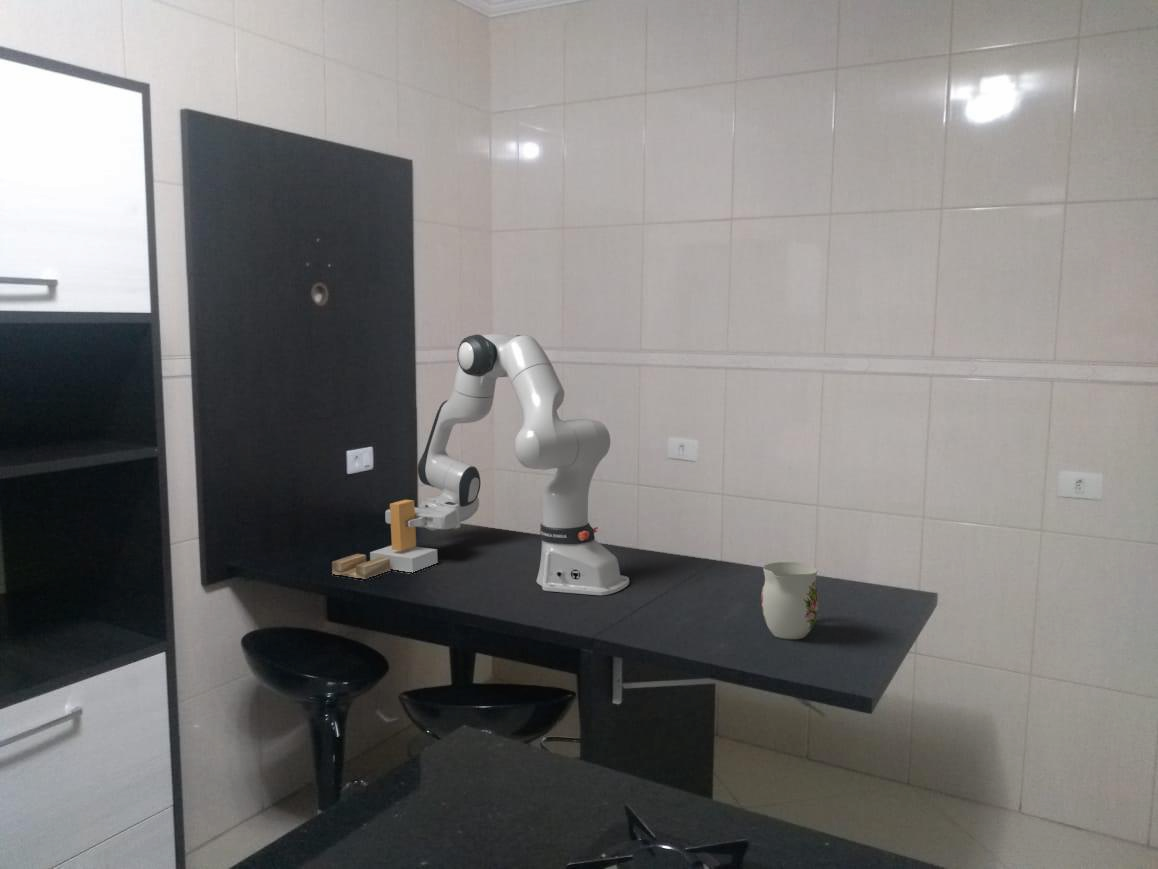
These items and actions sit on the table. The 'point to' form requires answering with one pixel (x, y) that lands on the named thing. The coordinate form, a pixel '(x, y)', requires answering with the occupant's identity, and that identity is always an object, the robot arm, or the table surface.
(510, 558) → the table surface
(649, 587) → the table surface
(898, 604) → the table surface
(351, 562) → the rack
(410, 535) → the orange rectangular block
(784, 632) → the pitcher
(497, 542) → the table surface
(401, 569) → the block
